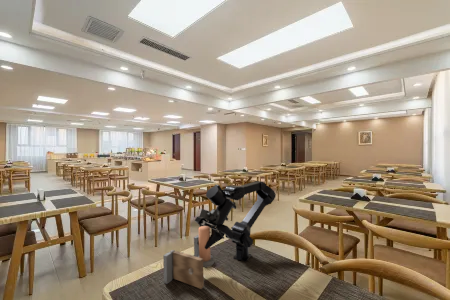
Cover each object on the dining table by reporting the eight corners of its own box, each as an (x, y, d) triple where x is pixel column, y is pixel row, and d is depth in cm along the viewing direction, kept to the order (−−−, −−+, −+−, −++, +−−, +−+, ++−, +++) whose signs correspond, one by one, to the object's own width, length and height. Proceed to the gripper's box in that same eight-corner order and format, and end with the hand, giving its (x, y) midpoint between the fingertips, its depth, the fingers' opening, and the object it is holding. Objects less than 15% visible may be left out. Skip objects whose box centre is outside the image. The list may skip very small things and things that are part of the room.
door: (168, 278, 82) (167, 252, 82) (172, 275, 84) (172, 249, 84) (199, 290, 74) (198, 261, 74) (203, 286, 77) (203, 258, 77)
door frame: (201, 254, 101) (201, 232, 101) (204, 255, 100) (204, 233, 100) (164, 282, 80) (163, 255, 80) (166, 284, 79) (166, 256, 79)
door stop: (205, 256, 88) (204, 223, 88) (217, 261, 84) (216, 227, 84) (192, 263, 83) (191, 228, 83) (204, 269, 78) (203, 233, 78)
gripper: (197, 197, 93) (175, 229, 85) (226, 204, 79) (204, 244, 72) (212, 211, 98) (192, 243, 91) (242, 220, 84) (222, 258, 77)
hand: (201, 246), depth 82 cm, fingers closed on door stop, 4 cm apart
